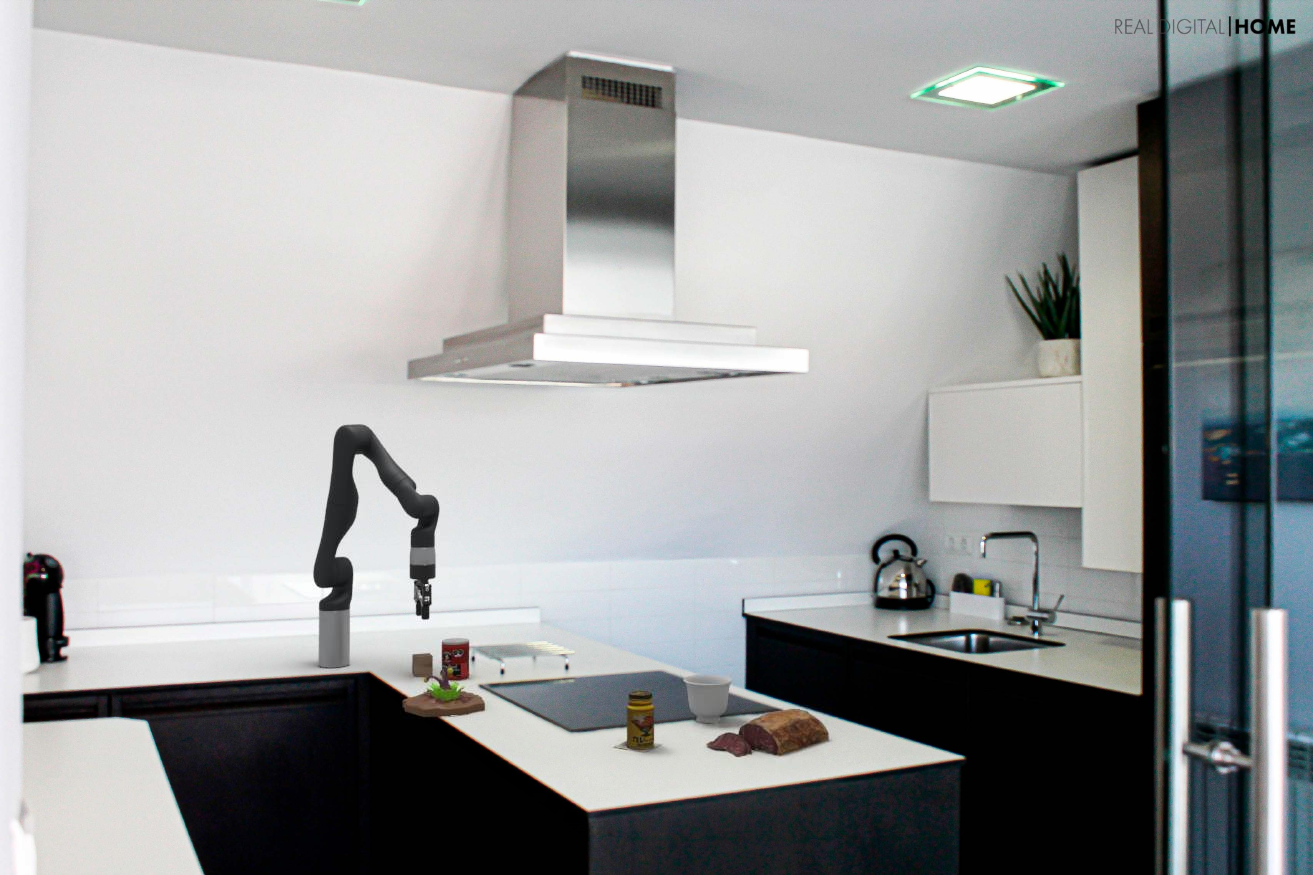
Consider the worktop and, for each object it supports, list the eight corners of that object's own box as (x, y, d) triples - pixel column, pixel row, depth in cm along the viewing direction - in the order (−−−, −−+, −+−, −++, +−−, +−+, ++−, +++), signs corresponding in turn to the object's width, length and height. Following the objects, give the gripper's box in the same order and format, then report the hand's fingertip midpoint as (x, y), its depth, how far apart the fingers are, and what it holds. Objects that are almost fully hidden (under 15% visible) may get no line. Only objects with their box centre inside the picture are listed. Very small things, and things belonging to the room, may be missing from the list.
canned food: (436, 679, 318) (436, 641, 318) (453, 674, 325) (453, 637, 325) (457, 681, 314) (457, 643, 314) (474, 676, 321) (474, 639, 321)
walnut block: (412, 674, 325) (412, 654, 325) (429, 673, 327) (429, 652, 327) (415, 677, 320) (415, 656, 320) (432, 676, 322) (432, 655, 322)
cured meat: (698, 749, 242) (698, 718, 242) (763, 728, 261) (764, 699, 261) (765, 766, 230) (766, 733, 230) (829, 742, 249) (829, 712, 249)
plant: (422, 722, 268) (422, 675, 268) (394, 706, 284) (394, 663, 284) (497, 711, 279) (497, 667, 279) (466, 697, 295) (466, 655, 295)
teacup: (715, 710, 278) (715, 670, 278) (741, 723, 264) (741, 681, 265) (671, 714, 274) (671, 674, 274) (695, 727, 260) (695, 685, 260)
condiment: (646, 752, 238) (646, 697, 239) (612, 747, 242) (612, 693, 243) (662, 744, 245) (662, 690, 245) (629, 740, 249) (629, 687, 249)
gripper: (405, 560, 329) (405, 615, 329) (414, 564, 316) (414, 621, 316) (430, 559, 332) (430, 613, 332) (440, 563, 319) (440, 619, 319)
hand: (422, 617), depth 324 cm, fingers open, 8 cm apart
